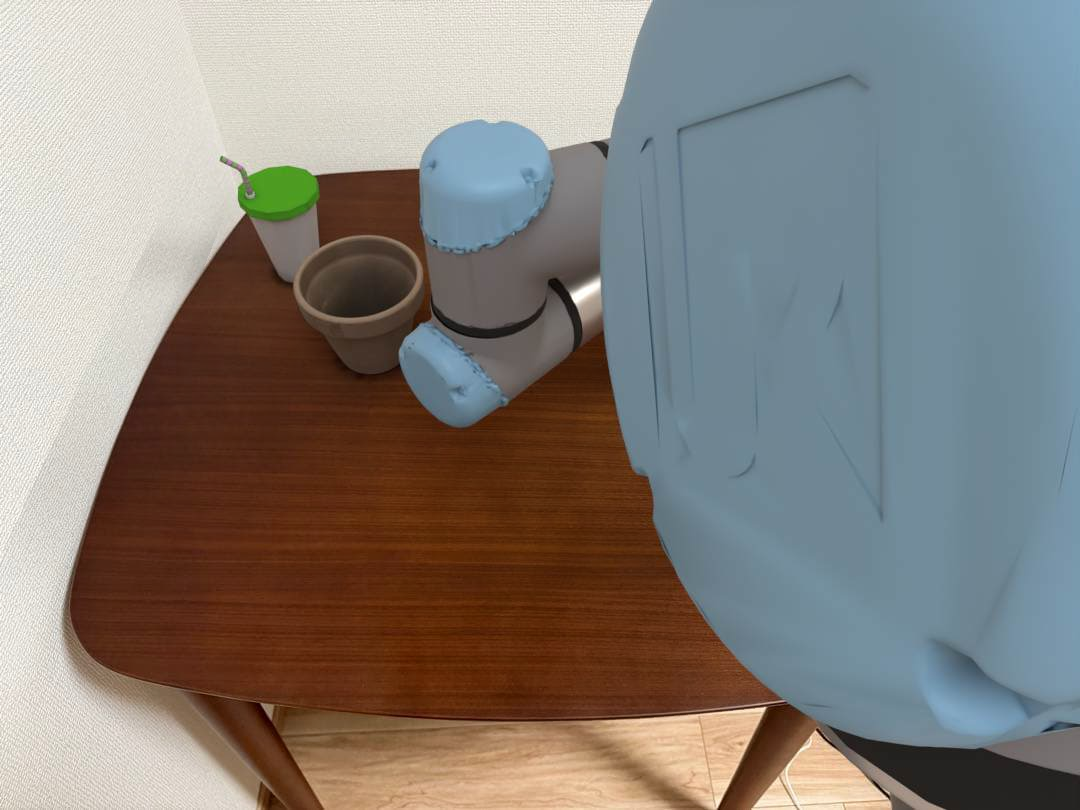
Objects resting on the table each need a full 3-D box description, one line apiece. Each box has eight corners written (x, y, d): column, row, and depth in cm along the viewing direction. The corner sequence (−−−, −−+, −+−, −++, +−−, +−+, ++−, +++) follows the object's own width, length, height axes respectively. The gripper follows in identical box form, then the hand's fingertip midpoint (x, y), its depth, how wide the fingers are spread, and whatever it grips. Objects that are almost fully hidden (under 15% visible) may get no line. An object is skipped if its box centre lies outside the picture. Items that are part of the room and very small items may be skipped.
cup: (345, 249, 90) (318, 126, 79) (326, 297, 85) (294, 173, 74) (275, 243, 91) (239, 120, 79) (252, 291, 86) (210, 167, 74)
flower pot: (386, 415, 75) (371, 337, 67) (290, 369, 79) (264, 290, 71) (455, 337, 82) (448, 259, 74) (363, 298, 85) (347, 219, 77)
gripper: (497, 259, 69) (671, 151, 79) (680, 384, 60) (847, 244, 71) (495, 183, 63) (683, 78, 73) (696, 309, 54) (876, 169, 65)
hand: (763, 159), depth 72 cm, fingers closed on can, 6 cm apart
